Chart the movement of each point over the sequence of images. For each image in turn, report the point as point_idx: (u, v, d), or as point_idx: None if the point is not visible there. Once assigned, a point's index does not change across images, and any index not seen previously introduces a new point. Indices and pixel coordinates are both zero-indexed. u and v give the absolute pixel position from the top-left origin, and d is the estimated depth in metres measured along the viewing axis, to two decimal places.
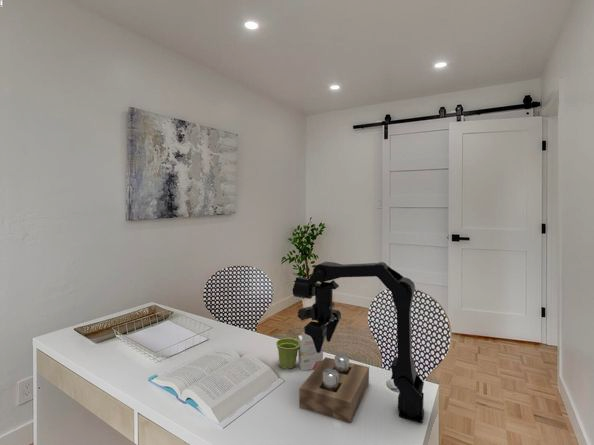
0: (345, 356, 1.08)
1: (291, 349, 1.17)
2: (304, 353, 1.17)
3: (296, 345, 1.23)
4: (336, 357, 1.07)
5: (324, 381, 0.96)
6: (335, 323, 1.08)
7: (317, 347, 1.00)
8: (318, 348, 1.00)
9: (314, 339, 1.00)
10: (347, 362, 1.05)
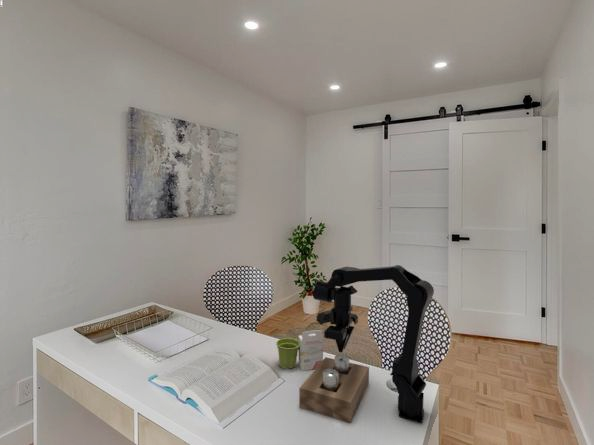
0: (345, 356, 1.08)
1: (291, 349, 1.17)
2: (304, 353, 1.17)
3: (296, 345, 1.23)
4: (336, 357, 1.07)
5: (324, 381, 0.96)
6: (350, 330, 1.07)
7: (339, 347, 1.05)
8: (340, 348, 1.05)
9: (337, 339, 1.04)
10: (347, 362, 1.05)
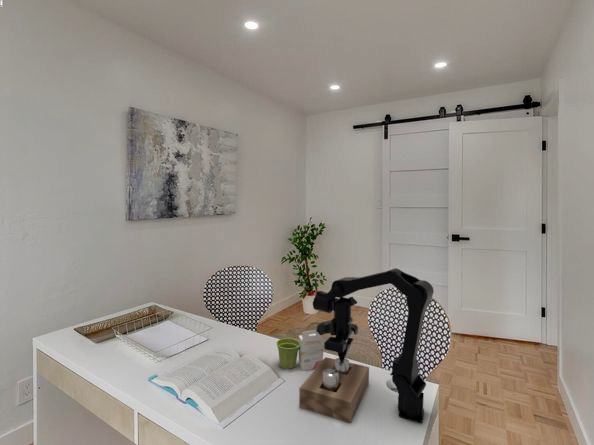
0: (345, 359, 1.08)
1: (291, 349, 1.17)
2: (304, 353, 1.17)
3: (296, 345, 1.23)
4: (336, 360, 1.07)
5: (324, 381, 0.96)
6: (349, 342, 1.06)
7: (341, 356, 1.06)
8: (342, 357, 1.06)
9: None
10: (347, 366, 1.05)
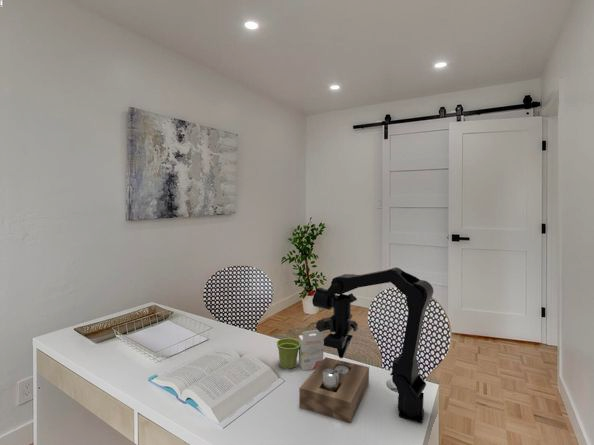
0: (345, 368, 1.08)
1: (291, 349, 1.17)
2: (304, 353, 1.17)
3: (296, 345, 1.23)
4: (336, 369, 1.07)
5: (324, 381, 0.96)
6: (348, 339, 1.06)
7: (340, 353, 1.06)
8: (341, 354, 1.06)
9: None
10: (347, 374, 1.06)
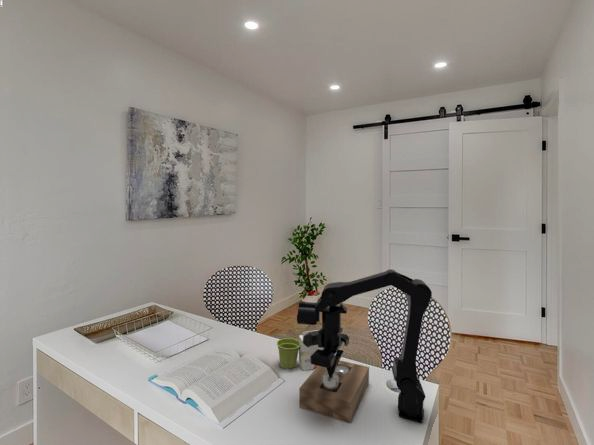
0: (345, 368, 1.08)
1: (292, 349, 1.17)
2: (304, 353, 1.17)
3: (296, 345, 1.24)
4: (336, 369, 1.07)
5: (324, 384, 0.96)
6: (339, 355, 0.96)
7: (329, 370, 0.96)
8: (330, 371, 0.96)
9: None
10: (347, 374, 1.06)
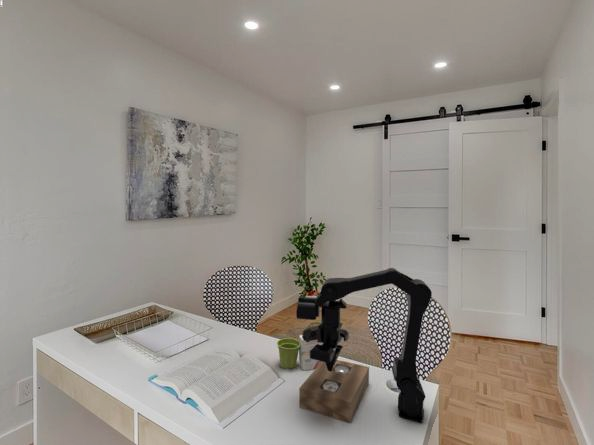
0: (345, 368, 1.08)
1: (292, 349, 1.17)
2: (305, 353, 1.17)
3: (297, 345, 1.24)
4: (336, 369, 1.07)
5: None
6: (338, 350, 0.96)
7: (329, 366, 0.96)
8: (330, 367, 0.96)
9: None
10: (347, 374, 1.06)
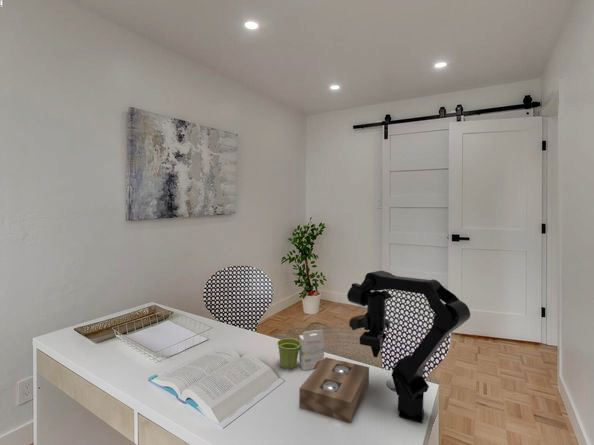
0: (345, 368, 1.08)
1: (292, 349, 1.17)
2: (305, 353, 1.17)
3: (297, 345, 1.24)
4: (336, 369, 1.07)
5: None
6: (383, 337, 1.03)
7: (374, 352, 1.02)
8: (375, 353, 1.02)
9: None
10: (347, 374, 1.06)
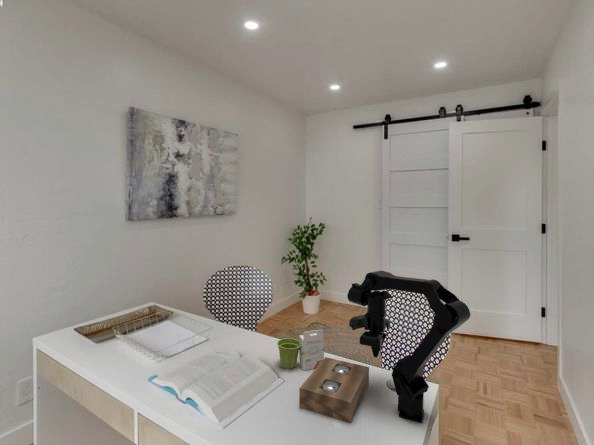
0: (345, 368, 1.08)
1: (292, 349, 1.17)
2: (305, 353, 1.17)
3: (297, 345, 1.24)
4: (336, 369, 1.07)
5: None
6: (383, 337, 1.03)
7: (374, 352, 1.02)
8: (375, 353, 1.02)
9: None
10: (347, 374, 1.06)
